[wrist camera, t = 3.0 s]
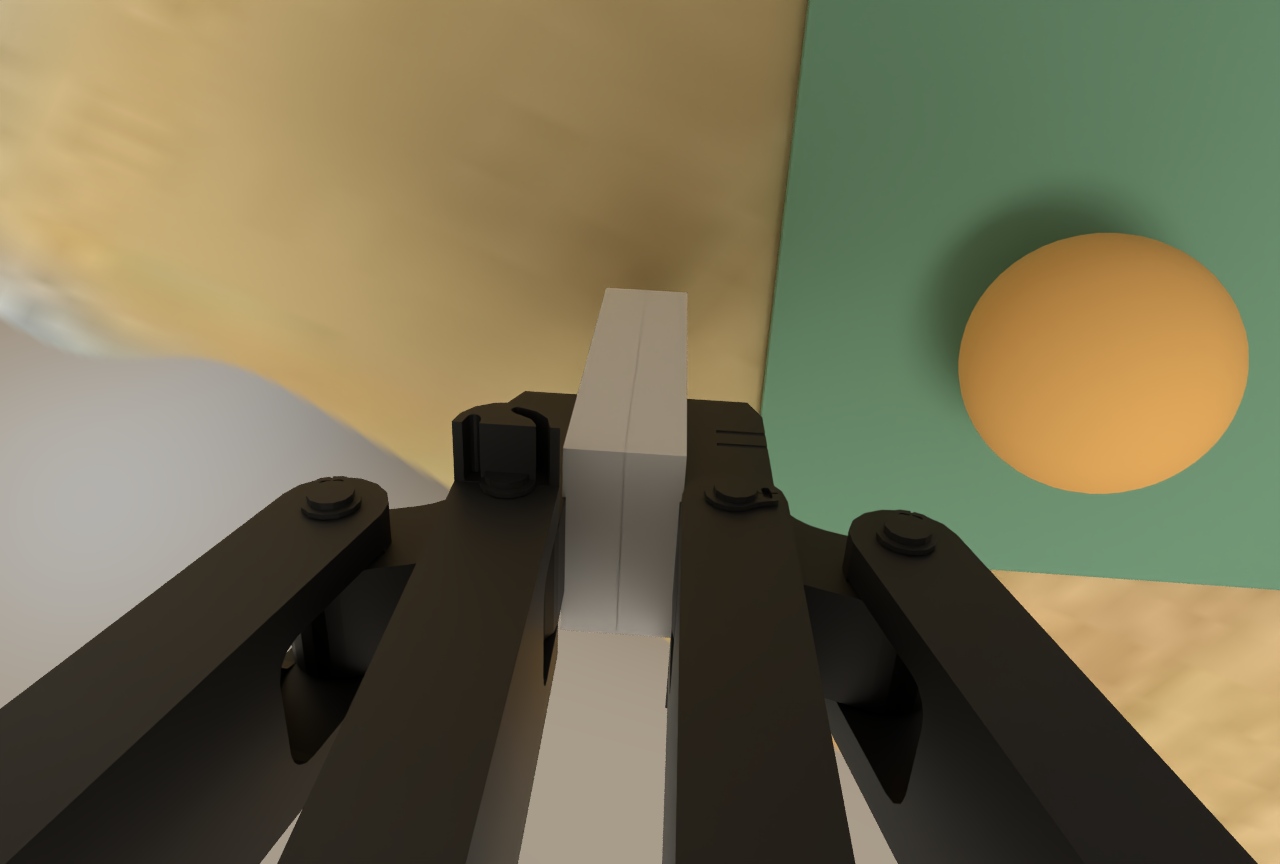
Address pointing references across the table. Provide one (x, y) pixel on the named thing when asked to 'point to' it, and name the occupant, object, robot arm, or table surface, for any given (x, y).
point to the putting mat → (1001, 235)
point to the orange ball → (1103, 363)
